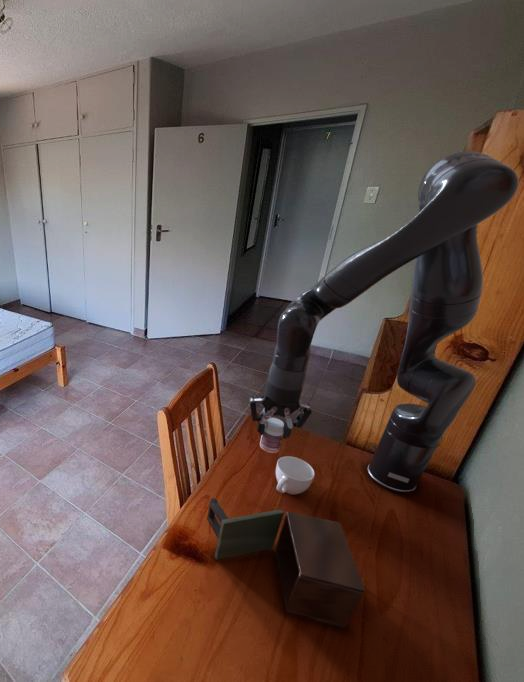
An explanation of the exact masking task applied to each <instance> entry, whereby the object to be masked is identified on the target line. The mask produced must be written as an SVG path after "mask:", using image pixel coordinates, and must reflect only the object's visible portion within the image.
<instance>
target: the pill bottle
mask: <svg viewBox="0 0 524 682" xmlns="http://www.w3.org/2000/svg"><path fill="white" fill-rule="evenodd" d="M284 423H285V422H283V420H281V419H279V418H276V417H270V419H268V420H267V421H266V422H265V428H264V432H263V435H260V440H259V447H260V448H261V449H262V450H263V451H264V452H267V453H269V454H270V453H271V454H276V453H278V452H280V450H281V445H282V442H283V439H284V438H283V434H284V430H283V428H284Z"/></svg>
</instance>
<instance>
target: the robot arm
mask: <svg viewBox="0 0 524 682" xmlns="http://www.w3.org/2000/svg"><path fill="white" fill-rule="evenodd" d="M519 184H520V182H519V176H518V174H517V173H516V171H515V170H514V169H513V168H511V166H508V165H507V164H506V163H504V162H501V161H500V160H498V159H496V158H494V157H493V156H490V155H488V154H486V153H483V152H478V151H472V150H463V151H458V152H453V153H451V154H448V155H447V156H445V157H442V158H441V159H440V160H438V161H437V162H436V163H434V164H433V165H432V166H431V167H430V168H429V169H428V170H427V171H426V173H425V174H424V175H423V177H422V180H420V183H419V187H418V191H417V193H418V194H417V200H418V213H417V214H415V216H414V217H412V218H411V219H410V220H409V221H408V222H406V223H405V224H404V225H402V227H400V228H399V229H397V230H396V231H394V232H393V233H391V234H389V235H388V236H387V237H385V238H382V239H381V240H379V241H377V242H374V243H373V244H370V245H368V246H366V247H364V248H362V249H360V250H358V251H356V252H354V253H353V254H351V255H349V256H348V257H347V258H345V259H344V260H342V261H341V262H340V263H338V264H337V265H336V266H335V267H334V268H332V269H331V270H330V271H328V273H326V274H325V275H324V276H323V277H322V278H321V279H320V280H318V282H316V283H315V284H314V285H313V286H311V287H310V288H309V289H307V290H306V291H304V292H303V293H302V294H300V295H299V296H297V297H296V298H295V299H293V300H292V301H291V302H290V303H289V304H288V305H287V306H286V308H285V309H284V310H283V312H282V313H281V314H280V316H279V320H278V324H277V330H276V346H275V348H274V353H273V357H272V362H271V365H270V367H269V369H268V370H269V371H268V372H267V380H266V384H265V390H264V394H263V395H262V396H261V397H259V398H255V397H254V396H250V397H249V406H250V412H251V420H252V421H253V422H257V425H256V430H257V433H259V435H260V436H261V435H263V432H264V428H265V424H266V421H267V420H268V419H270V418H272V416H273V417H274V416H275V417H276V416H277V417H278V416H279V417H281V418H285V422H283V423H284V428H283V430H284V434H283V438H282V439H284V440H287V438H290V436H291V433H292V429H293V428H297V429H301V428H303V426H304V424H305V423H306V422H307V420H308V419H309V417H310V416H311V414H312V413H313V411H312V407H311V406H310V404H308V403H305V404H303V403H300V400H301V395H302V393H303V389H304V385H305V382H306V377H307V368H308V365H309V361H310V357H311V351H312V350H311V349H312V348H311V345H312V342H313V338H314V335H315V333H316V330H317V327H318V325H319V324H320V322H321V321H322V320H323V319H324V318H325V317H327V316H328V315H330V314H331V313H332V312H334V311H335V310H336V309H341V308H343V307H345V306H347V305H348V304H350V303H352V302H353V301H354V300H356V299H357V298H359V297H360V296H361V295H362V294H364V293H365V292H367V291H368V290H369V289H371V288H372V287H373V286H375V285H376V284H378V283H379V282H380V281H382V280H383V279H385V278H386V277H388V276H389V275H392V273H394V272H396V271H397V270H399V269H400V268H402V267H404V266H405V265H407V264H408V263H411V262H412V261H414V260H415V262H414V269H413V276H412V284H411V289H410V297H409V307H408V308H409V309H408V320H407V321H408V323H407V330H406V335H405V341H404V347H403V350H402V354H401V357H400V362H399V365H398V368H397V372H396V374H397V375H396V381H397V385H398V387H399V388H400V389H401V390H402V391H404V392H406V393H407V394H409V395H411V396H413V397H415V398H416V399H419V400H421V401H422V402H425V403H427V405H424V404H417V403H400V404H397V405H396V406H395V407H394V408H393V409H392V412H391V413H390V416H389V418H388V421H387V423H386V425H385V428H384V430H383V432H382V435H381V437H380V439H379V442H378V443H377V445H376V448H375V450H374V453H373V455H372V457H371V459H370V462H369V464H368V466H367V467H366V472H367V475H368V476H369V477H370V479H371V480H372V481H373V482H375V483H376V484H377V485H379V486H380V487H382V488H384V489H386V490H387V491H391V492H394V493H398V494H410V493H413V492H414V491H415V490H416V488H417V485H418V484H419V481H420V480H421V478H422V476H423V474H424V473H425V470H426V468H427V467H428V465H429V463H430V461H431V459H432V457H433V456H434V454H435V452H436V450H437V448H438V447H439V444H440V442H441V441H442V439H443V436H444V435H445V433H446V431H447V430H448V428H449V427H450V426H451V425H452V423H453V422H454V421H455V420H456V418H457V416H458V414H459V413H460V411H461V410H462V408H463V406H464V405H465V404H466V401H467V400H468V399H469V398H470V396H471V394H472V393H473V391H474V388H475V386H476V376H475V374H474V373H472V372H471V371H468V370H466V369H465V368H464V369H463V368H461V367H459V366H457V365H453V364H452V363H450V362H447V361H444V360H442V359H440V358H438V357H437V355H436V350H437V346H438V344H439V343H440V342H441V341H442V340H444V339H446V338H449V336H452V335H453V334H455V333H456V332H458V331H460V330H461V329H463V328H464V327H466V326H467V325H468V324H470V323H471V322H472V320H474V319H475V317H476V316H477V313H478V309H479V306H480V301H481V297H482V293H483V286H484V285H483V284H484V283H483V282H484V276H483V275H484V274H483V265H482V260H481V259H482V258H481V253H480V249H479V243H478V225H479V224H480V223H482V222H483V221H485V220H487V219H488V218H490V217H492V216H493V215H495V214H496V213H498V212H499V211H500V210H502V209H503V208H505V206H506V205H508V204H509V202H510V201H511V200H512V199H513V198H514V196H515V195H516V193H517V192H518V188H519ZM261 404H262V406H263V409H262V411H261V412H260V414H258V412H257V409H258V408H260V405H261ZM298 410H299V412H298V414H297V415H296V416H295V418H293V419H292V415H291V414H294V412H297V411H298Z"/></svg>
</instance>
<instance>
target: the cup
mask: <svg viewBox="0 0 524 682" xmlns="http://www.w3.org/2000/svg"><path fill="white" fill-rule="evenodd" d="M315 473H316V472H315V470H314V469H313V467H312V466H311V464H309V463H308V462H306V461H305V460H303V459H301V458H299V457H295V456H292V455H291V456H290V455H285V456H281V457H280V458H278V459H277V461H276V465H275V478H276V482H277V485H276V491H277V492H279V494H285V493H287V495H292V496H293V495H295V496H297V495H300V494H302V493H305V491H307V490H308V489H309V488H310V486H311V485H312V483H313V481H314V478H315V475H316V474H315Z"/></svg>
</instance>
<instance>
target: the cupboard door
mask: <svg viewBox="0 0 524 682" xmlns="http://www.w3.org/2000/svg"><path fill="white" fill-rule="evenodd" d="M284 514H285V512H284V511H283V509H282V508H279V509H275V510H270V511H264V512H258V513H254V514H248V515H242V516H238V517H232V518H228V516H227V514H226V513H225V511H224V509H223V508H222V506H221V504H220V502H219V501H218V500H217V499H216V498H215V497H211V498H210V500H209V506H208V511H207V517H206V520H207V522H208V524H209V526H210V528H211V529H212V531H213V532H214V535H215V537H216V538H217V542H216V548H215V552H214V558H215V560H218V561H219V560H223V559H227V558H231V557H232V558H233V557H237V556H242V555H247V554H253V553H257V552H262V551H267V550H273V549H274V547H275V546H274V545H275V543H276V539H277V536H278V534H279V531H280V530H279V529H280V527H281V523H282V520H283V517H284Z"/></svg>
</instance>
